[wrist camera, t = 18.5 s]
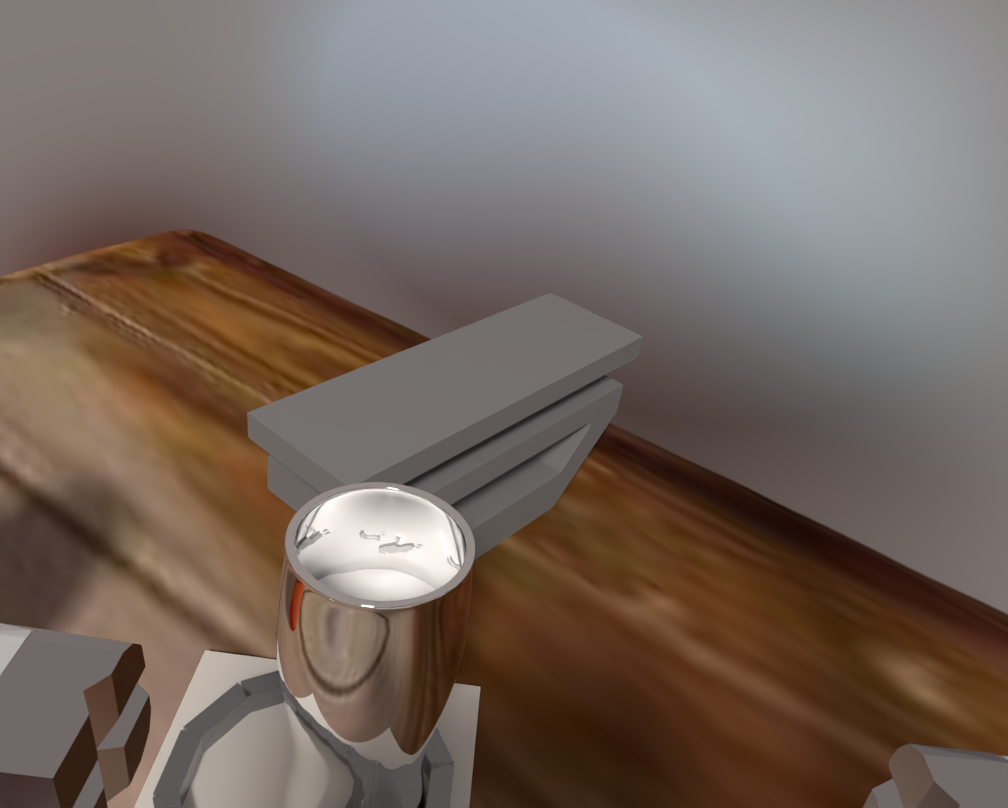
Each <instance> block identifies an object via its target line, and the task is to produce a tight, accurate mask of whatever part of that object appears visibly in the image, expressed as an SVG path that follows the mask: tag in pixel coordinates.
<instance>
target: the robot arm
mask: <svg viewBox="0 0 1008 808" xmlns="http://www.w3.org/2000/svg"><path fill="white" fill-rule="evenodd" d="M144 668H145V662H144V656H143V651H142V646H141V645H139V644H134V643H128V642H121V641H115V640H109V639H103V638H96V637H90V636H84V635H77V634H71V633H65V632H59V631H52V630H46V629H39V628H32V627H25V626H18V625H11V624H4V623H0V808H108V807H107V801H109V800H110V799H112V798H113V797H114V796H116V795H117V794H118V793H120V792H121V791H122V790H124V789H125V788H126V787H128V786H129V785H130V783H131V781H132V779H133V777H134V774H135V772H136V770H137V768H138V765H139V763H140V761H141V759H142V755H143V751H144V748H145V744H146V740H147V737H148V733H149V728H150V715H151V706H150V698H149V694H148V693H147V692H146V691H145V690H144V689H143V688H142V687H141V686H140V685H139V684H138V683H137V682H138V680H139V678H140V676H141V674H142V672H143V670H144ZM888 765H889V768H890V771H891V774H892V776H893V779H891V780H889V781H887V782H885V783H883V784H881V785H879V786H877V787H875V788H873V789H872V791H871V793H870V795H869V797H868V799H867V800H866V802H865V804H864V806H863V808H1008V756H998V755H996V754H993V753H985V752H976V751H968V750H959V749H951V748H942V747H933V746H925V745H916V744H906V745H904V746H902V747H900V748H898V749H897V750H896V752H895V753H894V755H893V756H892V758H891V759H890V761H889V763H888Z"/></svg>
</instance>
